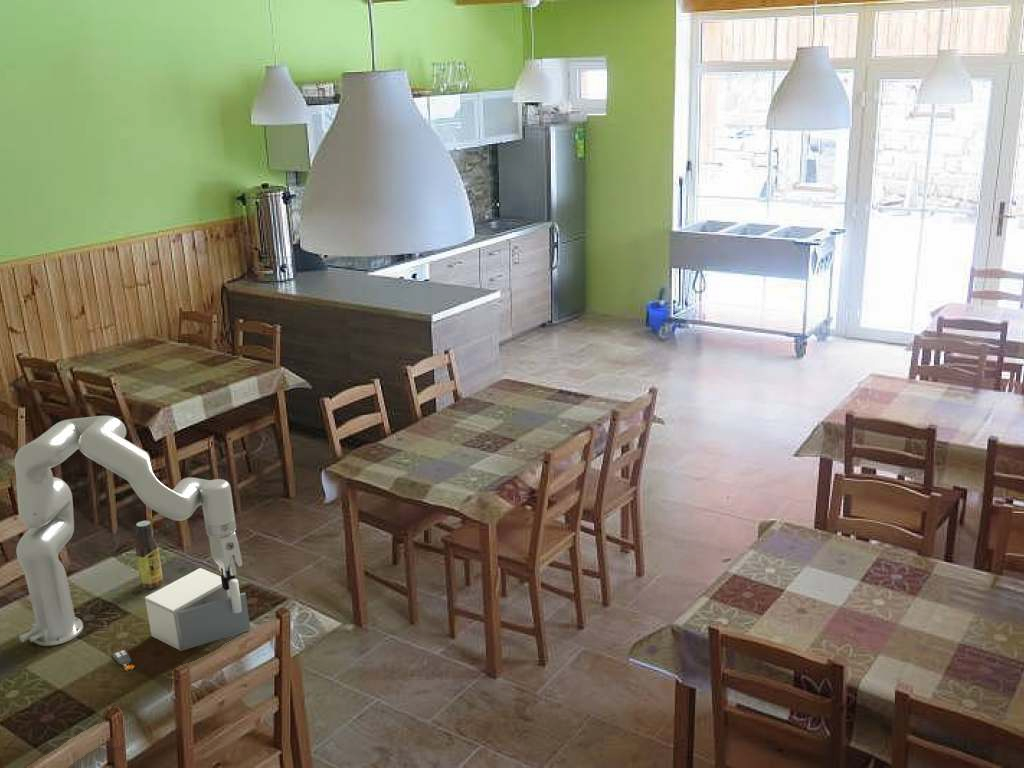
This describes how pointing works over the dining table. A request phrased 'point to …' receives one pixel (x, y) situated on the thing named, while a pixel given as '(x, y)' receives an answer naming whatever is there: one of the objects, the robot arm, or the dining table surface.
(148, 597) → the case
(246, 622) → the side door
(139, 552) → the sauce bottle
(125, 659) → the key chain
